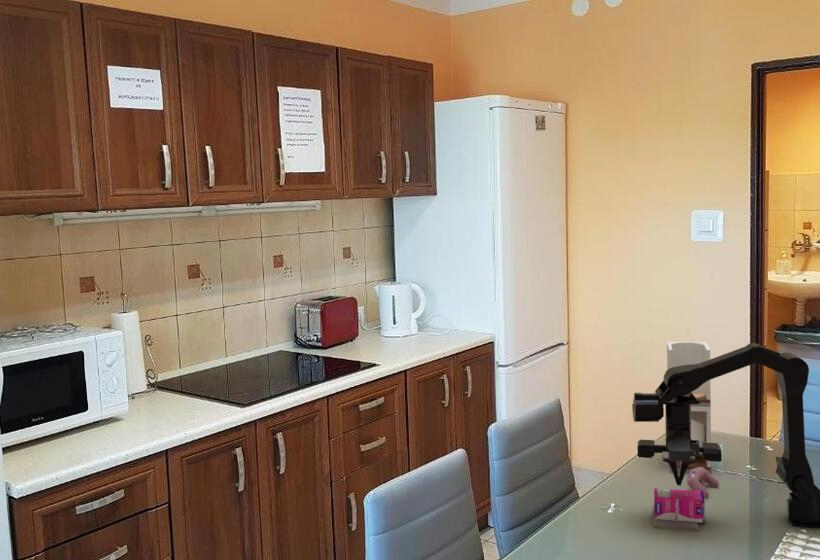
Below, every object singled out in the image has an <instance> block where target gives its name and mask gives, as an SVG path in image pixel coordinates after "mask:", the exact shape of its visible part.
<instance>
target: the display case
mask: <svg viewBox="0 0 820 560" xmlns="http://www.w3.org/2000/svg"><path fill="white" fill-rule="evenodd" d="M710 359H711V348H709V345H708V343H707V342H706V341H667V342H666V366H667V368H666V371H667V370H668V369H670V368H672V367H677V366H682V365H691V364H699V363H702V362H705V361H707V360H710ZM692 393H693V395H694V396H695V397H696V398H697V399H698V400H699V401H700V404H691V440H699V447H702V442H705V443H712V428H711V427H712V425H711V424H712V422H711V421H712V419H711V418H712V416H711V415H712V412H711V410H712V409H711V404H712V403H711V399H712V398H711V396H712V395H711V380H709V381H707V382H705V383H704V384H702V385H701V386H700V387H699V388H698V389H696V390H694V391H692ZM676 463H677V470H678V474H679V470H680V461H676ZM698 467H700V468H702V467H703V468H704V469H706V470H707V471H708V472H709V473H710V474H711V475H712V461H707V460H706V459H705V458H704V455H699V456H695V463H691V464H690V465H689V466H688V468H687V470H686V472H685V474H689V473H690V471H691V470H692V469H694V468H698ZM669 468H670V469H669V470H670V473H672V469H671V467H670V466H669ZM672 474H673V473H672Z"/></svg>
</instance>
